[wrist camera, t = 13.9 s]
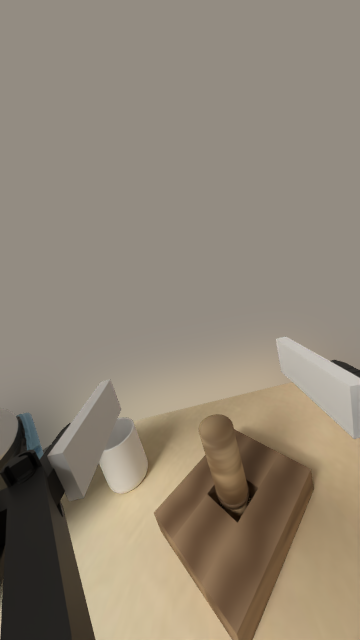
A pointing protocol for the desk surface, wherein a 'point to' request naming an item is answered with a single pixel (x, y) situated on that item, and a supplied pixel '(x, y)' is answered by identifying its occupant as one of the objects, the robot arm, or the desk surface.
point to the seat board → (237, 533)
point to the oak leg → (225, 464)
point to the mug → (124, 457)
